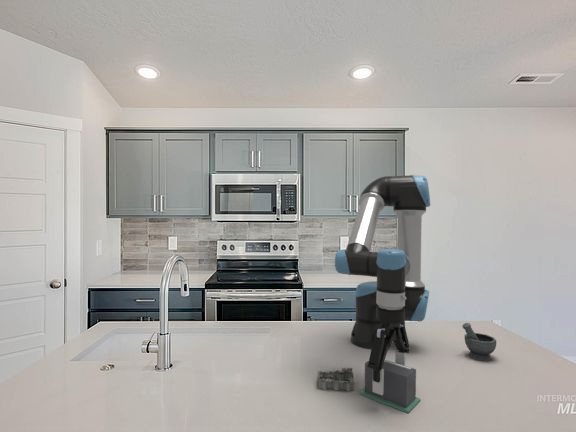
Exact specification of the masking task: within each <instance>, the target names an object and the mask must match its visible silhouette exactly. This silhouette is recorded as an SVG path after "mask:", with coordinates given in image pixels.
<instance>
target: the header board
mask: <svg viewBox="0 0 576 432" xmlns="http://www.w3.org/2000/svg"><path fill="white" fill-rule="evenodd" d="M359 395H361V396H364V397H366V398H368V399H371V400H373V401H376V402H379V403H381V404H383V405H386V406H389V407H391V408H394V409H396V410H398V411H401V412H404V413H406V414H410V412H411V411H412V410H413V409H414V408H416V406H417V405H418V404H419V403H420V402H421V398H420V397H418V396H416V399H415V400H414V401H413V402H412V403H411V404H410V405H409V406H408V407H407V408H405V407H402V406H400V405H397V404H395V403H392V402H390V401H387V400H384V399H382V398H379V397H377V396H374V395H372V394H369V393H366V392H365V387H364V388H362V389H361V390H360V391H359Z"/></svg>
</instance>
